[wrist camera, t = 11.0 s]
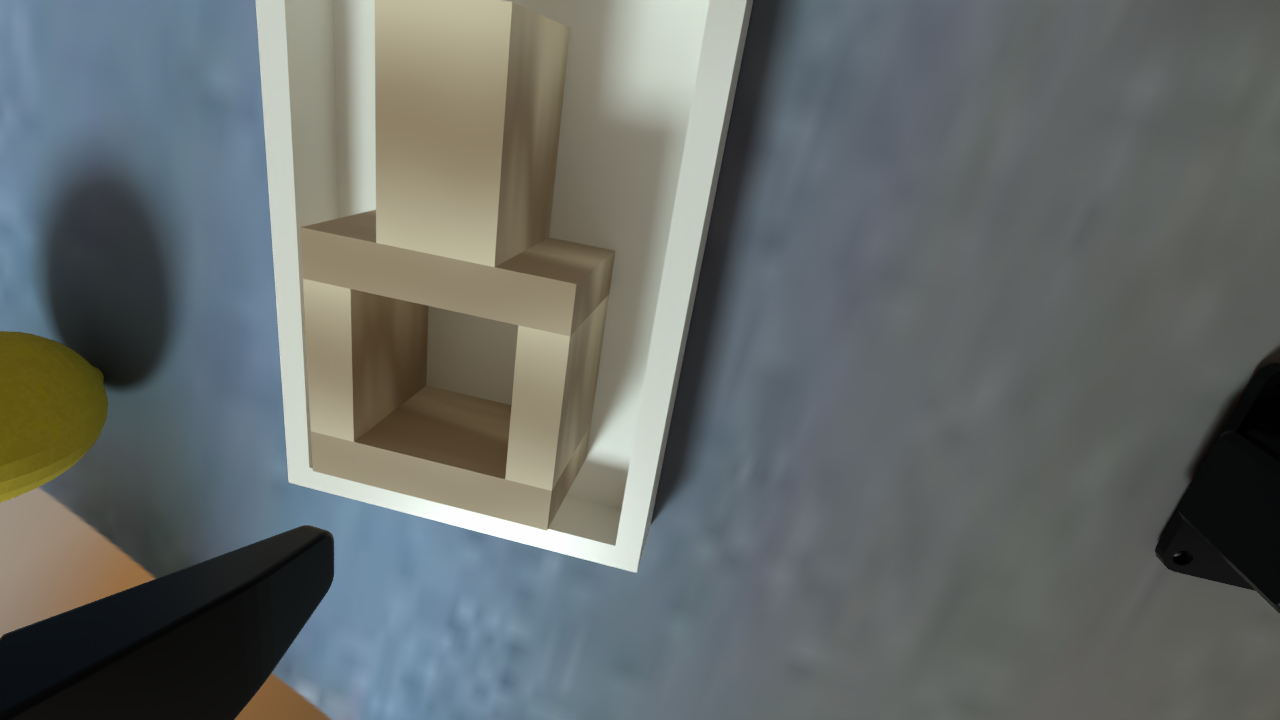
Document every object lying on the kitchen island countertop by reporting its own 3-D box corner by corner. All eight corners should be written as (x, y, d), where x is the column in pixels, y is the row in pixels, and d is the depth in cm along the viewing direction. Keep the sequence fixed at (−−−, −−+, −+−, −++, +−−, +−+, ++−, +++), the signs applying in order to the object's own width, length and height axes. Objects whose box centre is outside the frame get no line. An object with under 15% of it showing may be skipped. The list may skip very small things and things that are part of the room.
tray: (316, -107, 17) (246, -141, 15) (762, -45, 16) (761, -73, 13) (335, 446, 24) (289, 482, 21) (650, 525, 22) (636, 573, 20)
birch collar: (586, 458, 21) (546, 530, 17) (390, 411, 22) (312, 470, 18) (645, 39, 16) (608, 16, 12) (391, -1, 17) (287, -33, 13)
